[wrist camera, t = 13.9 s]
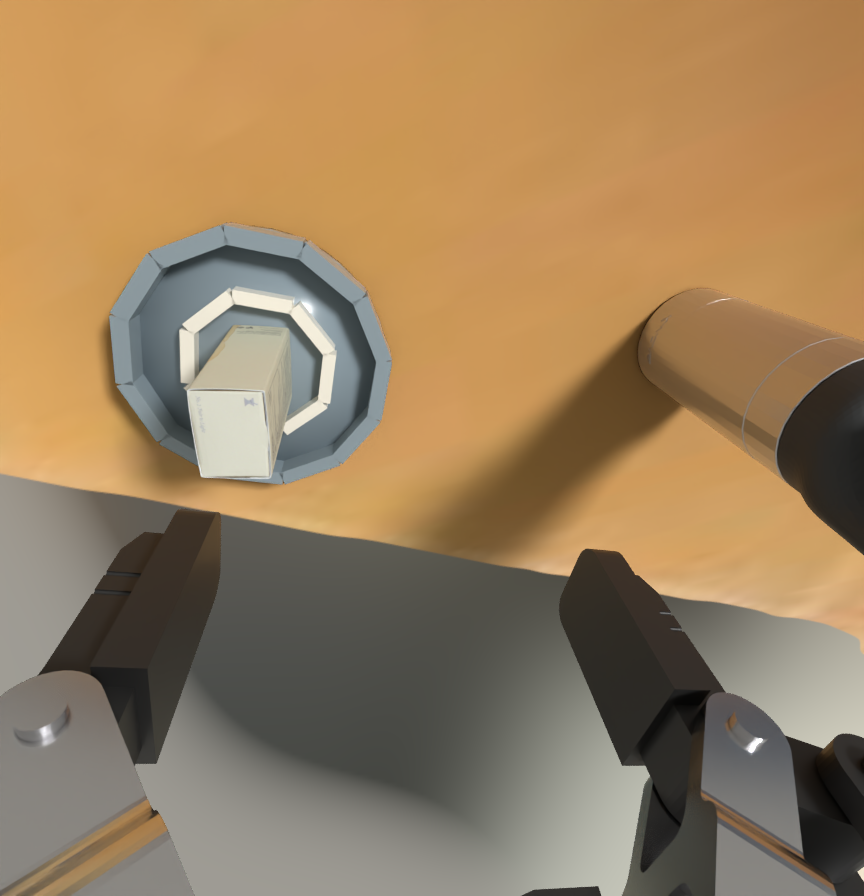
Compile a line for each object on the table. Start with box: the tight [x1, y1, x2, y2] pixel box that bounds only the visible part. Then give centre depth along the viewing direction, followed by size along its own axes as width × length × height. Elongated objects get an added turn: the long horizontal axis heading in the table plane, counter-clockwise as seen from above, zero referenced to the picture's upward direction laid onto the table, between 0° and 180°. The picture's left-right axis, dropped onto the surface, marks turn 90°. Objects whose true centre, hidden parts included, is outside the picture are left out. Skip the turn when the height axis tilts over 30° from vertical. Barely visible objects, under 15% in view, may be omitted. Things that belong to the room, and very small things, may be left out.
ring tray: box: [109, 222, 392, 484], centre depth 39 cm, size 20×20×3 cm
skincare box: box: [187, 325, 292, 479], centre depth 34 cm, size 6×4×12 cm
